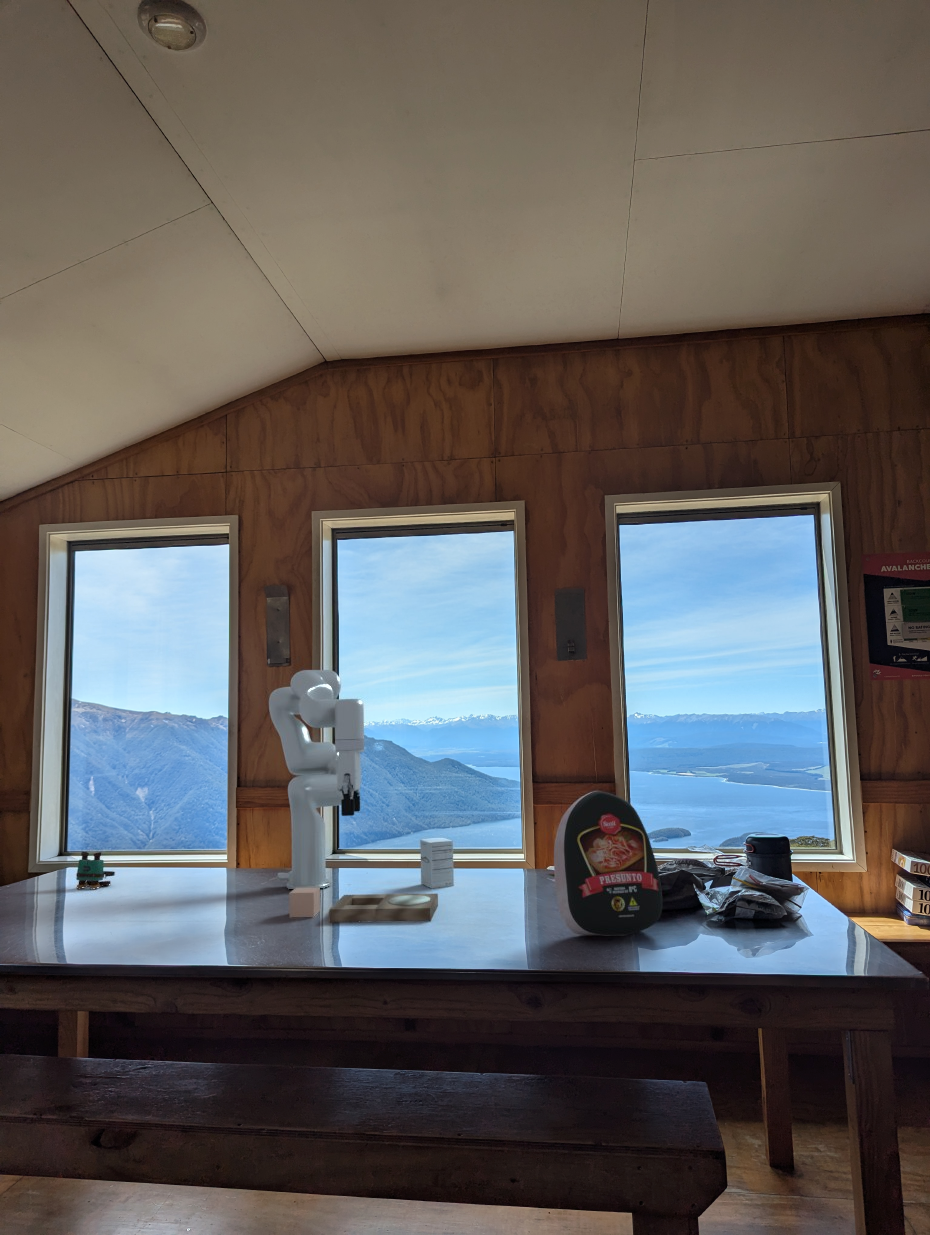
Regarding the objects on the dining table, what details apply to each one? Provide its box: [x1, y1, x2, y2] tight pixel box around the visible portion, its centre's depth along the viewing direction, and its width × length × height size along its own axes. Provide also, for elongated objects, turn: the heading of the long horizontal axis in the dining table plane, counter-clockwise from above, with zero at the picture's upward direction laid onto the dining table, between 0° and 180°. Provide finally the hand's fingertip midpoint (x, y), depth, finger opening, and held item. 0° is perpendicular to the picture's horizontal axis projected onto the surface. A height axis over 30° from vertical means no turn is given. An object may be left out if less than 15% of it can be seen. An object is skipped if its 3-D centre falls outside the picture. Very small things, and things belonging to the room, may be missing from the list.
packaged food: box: [553, 790, 663, 937], centre depth 184 cm, size 22×20×30 cm
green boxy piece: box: [75, 851, 116, 889], centre depth 253 cm, size 9×11×10 cm
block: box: [288, 888, 321, 918], centre depth 209 cm, size 6×6×6 cm
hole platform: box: [328, 893, 439, 923], centre depth 207 cm, size 24×16×3 cm, turn 86°
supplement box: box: [419, 836, 455, 889], centre depth 241 cm, size 7×7×13 cm
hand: (351, 813), depth 219 cm, fingers open, 9 cm apart
